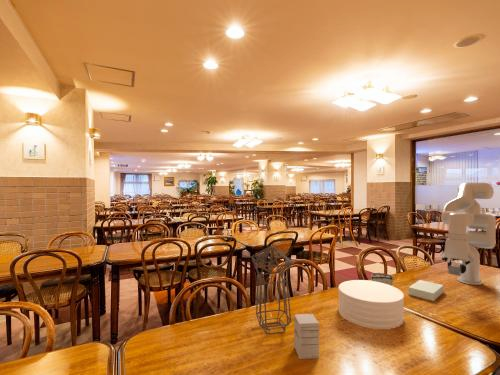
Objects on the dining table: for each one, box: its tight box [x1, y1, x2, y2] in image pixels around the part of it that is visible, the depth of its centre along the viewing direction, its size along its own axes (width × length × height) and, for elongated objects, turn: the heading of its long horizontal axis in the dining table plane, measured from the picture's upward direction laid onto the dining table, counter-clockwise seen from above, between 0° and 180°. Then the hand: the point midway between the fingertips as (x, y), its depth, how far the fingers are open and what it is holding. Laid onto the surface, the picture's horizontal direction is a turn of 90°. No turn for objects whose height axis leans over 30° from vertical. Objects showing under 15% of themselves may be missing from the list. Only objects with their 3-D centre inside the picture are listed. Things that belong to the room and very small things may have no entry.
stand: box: [408, 279, 444, 302], centre depth 160 cm, size 18×12×4 cm, turn 132°
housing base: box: [448, 265, 463, 277], centre depth 151 cm, size 5×10×4 cm, turn 133°
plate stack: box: [337, 279, 405, 330], centre depth 135 cm, size 28×28×12 cm
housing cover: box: [451, 259, 463, 268], centre depth 150 cm, size 4×9×2 cm, turn 134°
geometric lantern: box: [250, 245, 295, 335], centre depth 121 cm, size 16×16×35 cm
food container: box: [370, 272, 395, 286], centre depth 162 cm, size 12×6×10 cm, turn 84°
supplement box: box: [293, 313, 320, 360], centre depth 104 cm, size 7×7×13 cm
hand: (456, 271), depth 151 cm, fingers closed on housing base, 5 cm apart
